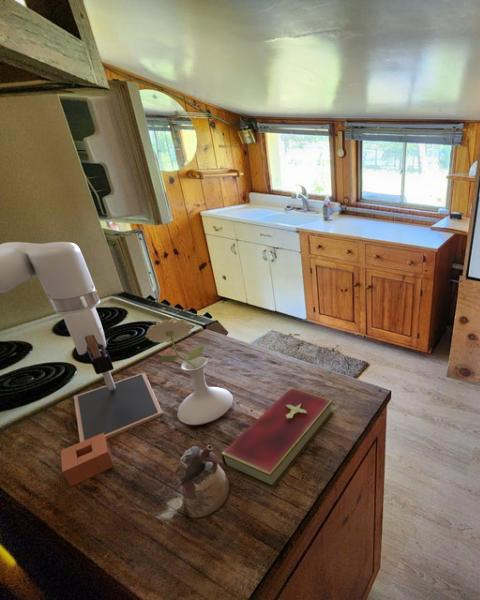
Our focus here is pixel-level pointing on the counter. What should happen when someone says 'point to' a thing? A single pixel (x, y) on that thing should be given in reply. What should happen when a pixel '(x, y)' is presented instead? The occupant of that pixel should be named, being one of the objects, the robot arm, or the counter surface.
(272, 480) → the hardcover book
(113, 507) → the counter surface
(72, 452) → the block
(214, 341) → the counter surface
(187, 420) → the flower in vase
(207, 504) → the figurine
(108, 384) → the light grey square peg
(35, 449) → the counter surface
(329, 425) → the counter surface
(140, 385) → the framed chalkboard
